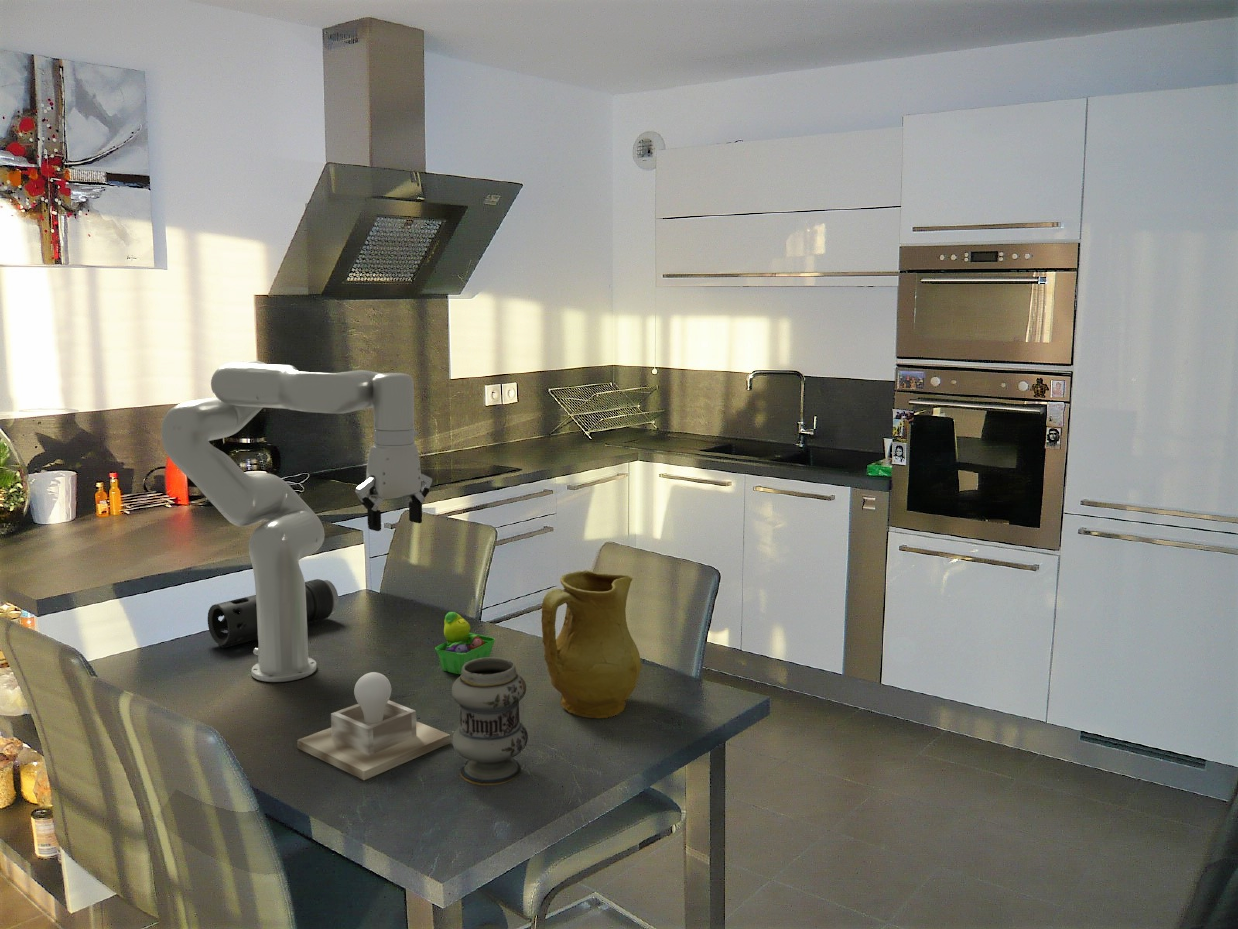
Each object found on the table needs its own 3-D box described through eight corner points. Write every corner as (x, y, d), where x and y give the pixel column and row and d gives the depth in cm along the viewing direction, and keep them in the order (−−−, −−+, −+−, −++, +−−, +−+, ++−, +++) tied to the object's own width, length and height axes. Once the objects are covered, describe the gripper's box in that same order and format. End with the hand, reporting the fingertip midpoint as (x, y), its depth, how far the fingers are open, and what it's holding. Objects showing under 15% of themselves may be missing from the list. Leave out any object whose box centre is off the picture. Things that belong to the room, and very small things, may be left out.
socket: (297, 748, 171) (296, 714, 170) (383, 715, 185) (382, 684, 184) (364, 780, 160) (363, 744, 159) (450, 743, 174) (449, 709, 173)
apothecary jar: (463, 753, 170) (462, 650, 167) (534, 757, 169) (534, 653, 166) (443, 787, 158) (442, 677, 155) (519, 791, 157) (519, 680, 154)
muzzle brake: (207, 645, 222) (205, 599, 220) (317, 615, 243) (316, 573, 242) (231, 654, 216) (228, 608, 214) (341, 623, 237) (340, 581, 236)
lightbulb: (395, 727, 175) (394, 667, 174) (388, 742, 169) (387, 680, 168) (360, 727, 175) (358, 667, 174) (351, 742, 169) (349, 680, 168)
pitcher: (644, 723, 183) (647, 589, 179) (541, 725, 181) (541, 590, 177) (636, 688, 200) (638, 564, 196) (541, 689, 198) (541, 565, 194)
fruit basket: (463, 678, 204) (462, 624, 202) (429, 670, 208) (428, 617, 206) (497, 661, 213) (496, 610, 212) (463, 654, 218) (463, 603, 216)
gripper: (417, 432, 202) (418, 516, 205) (343, 440, 189) (346, 530, 191) (442, 436, 197) (443, 522, 200) (368, 444, 184) (370, 536, 187)
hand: (395, 526), depth 196 cm, fingers open, 9 cm apart
